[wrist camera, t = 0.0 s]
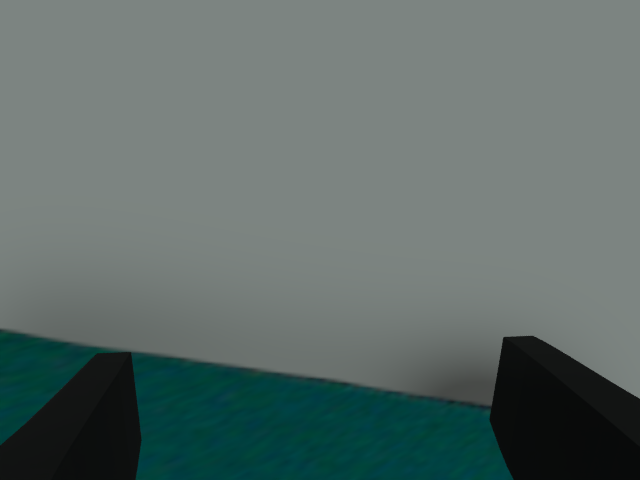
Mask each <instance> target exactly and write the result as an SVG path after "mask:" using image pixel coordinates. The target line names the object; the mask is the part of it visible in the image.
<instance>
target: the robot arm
mask: <svg viewBox="0 0 640 480" xmlns="http://www.w3.org/2000/svg"><path fill="white" fill-rule="evenodd" d="M490 423H491V425H492V428H493V431H494V434H495V437H496V439H497V442H498V445H499V448H500V450H501V453H502V455H503V458H504V460H505V463H506V465H507V467H508V469H509V471H510V473H511V475H512V477H513V479H514V480H640V399H639V398H637V397H636V396H634V395H632V394H631V393H629V392H627V391H626V390H624V389H622V388H620V387H619V386H617V385H615V384H614V383H612V382H610V381H609V380H607V379H606V378H604V377H602V376H601V375H599V374H597V373H596V372H594V371H592V370H591V369H589V368H588V367H586V366H584V365H583V364H581V363H579V362H578V361H576V360H574V359H573V358H571V357H570V356H568V355H566V354H565V353H563V352H561V351H560V350H558V349H556V348H554V347H553V346H551V345H549V344H547V343H546V342H544V341H542V340H540V339H538V338H536V337H534V336H517V337H504V338H503V343H502V349H501V355H500V361H499V367H498V373H497V379H496V384H495V391H494V396H493V402H492V408H491V414H490ZM140 446H141V432H140V423H139V415H138V407H137V398H136V390H135V382H134V373H133V365H132V356H131V352H122V353H97V354H96V355H95V356H94V357H93V358H92V359H91V360H90V361H89V362H88V363H87V364H86V365H85V366H84V367H83V368H82V369H81V370H80V371H79V372H78V373H77V374H76V375H75V376H74V377H73V378H72V379H71V380H70V381H69V382H68V383H67V384H66V385H65V386H64V387H63V388H62V389H61V390H60V391H59V392H58V393H57V394H56V395H55V396H54V397H53V398H52V399H51V400H50V401H49V402H48V403H46V404H45V405H44V406H43V407H42V408H41V409H40V410H39V411H38V412H37V413H36V414H35V415H34V416H33V417H32V418H31V419H30V420H29V421H28V422H27V423H26V424H24V425H23V426H22V427H21V428H20V429H19V430H18V431H17V432H15V433H14V434H13V435H12V436H11V437H10V438H8V439H7V440H6V441H5V442H4V443H3V444H2V445H0V480H135V479H136V473H137V467H138V460H139V453H140Z"/></svg>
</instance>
